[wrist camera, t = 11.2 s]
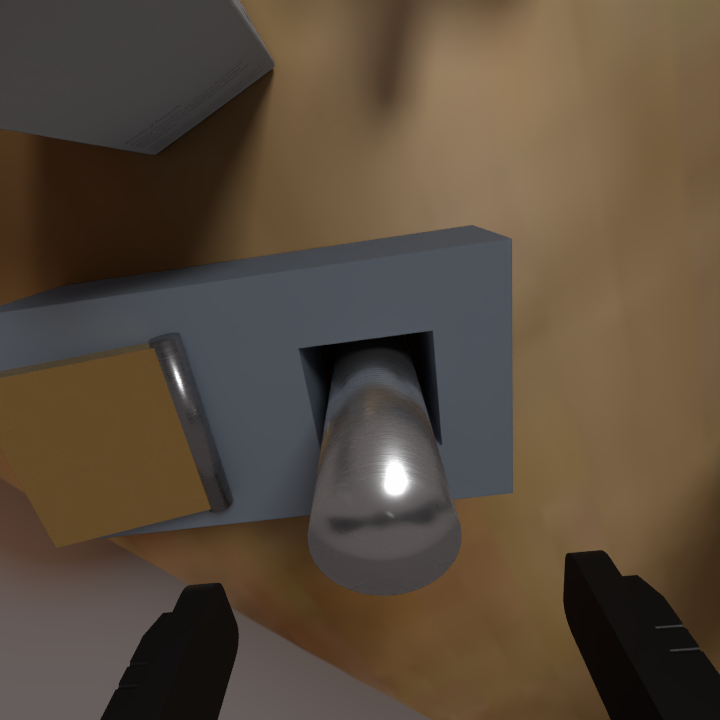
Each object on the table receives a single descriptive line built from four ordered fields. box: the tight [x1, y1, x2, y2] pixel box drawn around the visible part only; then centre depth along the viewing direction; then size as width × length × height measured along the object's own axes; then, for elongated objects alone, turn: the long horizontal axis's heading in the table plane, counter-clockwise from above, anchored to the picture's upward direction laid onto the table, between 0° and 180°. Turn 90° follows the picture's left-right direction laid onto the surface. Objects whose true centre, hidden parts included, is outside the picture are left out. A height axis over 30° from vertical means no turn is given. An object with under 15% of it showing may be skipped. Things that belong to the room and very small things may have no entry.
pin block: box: [0, 225, 513, 539], centre depth 21 cm, size 22×12×6 cm, turn 98°
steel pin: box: [308, 334, 462, 595], centre depth 17 cm, size 4×4×14 cm
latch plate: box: [0, 333, 234, 548], centre depth 18 cm, size 8×8×1 cm
